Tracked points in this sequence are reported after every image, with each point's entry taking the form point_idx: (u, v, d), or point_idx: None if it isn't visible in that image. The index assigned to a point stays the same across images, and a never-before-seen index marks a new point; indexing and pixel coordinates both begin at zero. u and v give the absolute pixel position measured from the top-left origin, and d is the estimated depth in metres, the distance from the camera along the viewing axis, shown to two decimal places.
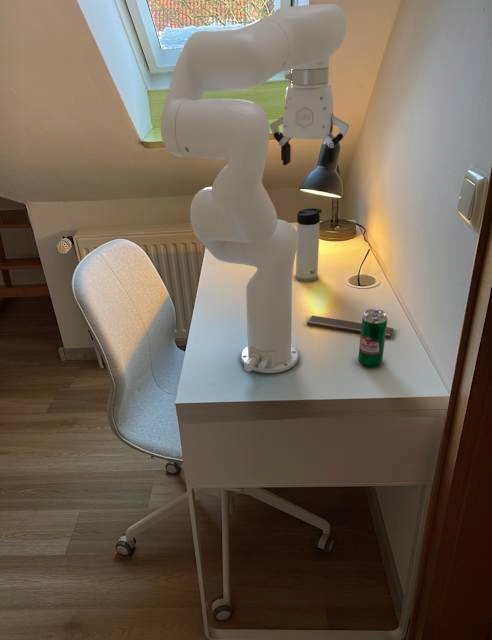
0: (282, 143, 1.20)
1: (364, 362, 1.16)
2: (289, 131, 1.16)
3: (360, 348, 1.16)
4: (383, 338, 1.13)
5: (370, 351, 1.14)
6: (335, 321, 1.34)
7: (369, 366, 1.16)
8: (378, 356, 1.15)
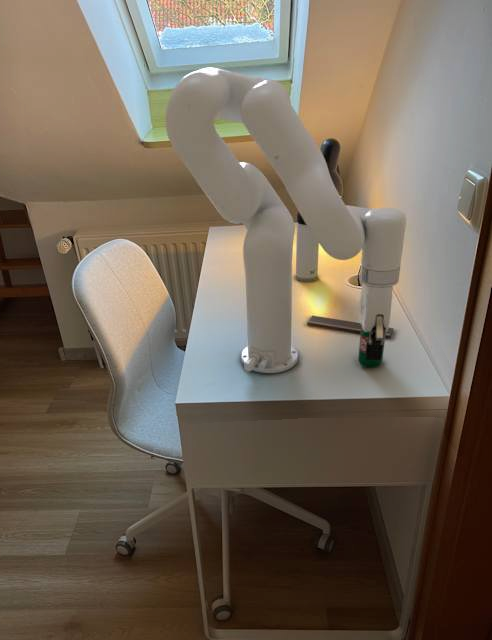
0: None
1: (364, 362, 1.16)
2: (359, 310, 1.16)
3: (360, 348, 1.16)
4: (383, 338, 1.13)
5: None
6: (335, 321, 1.34)
7: (369, 366, 1.16)
8: None
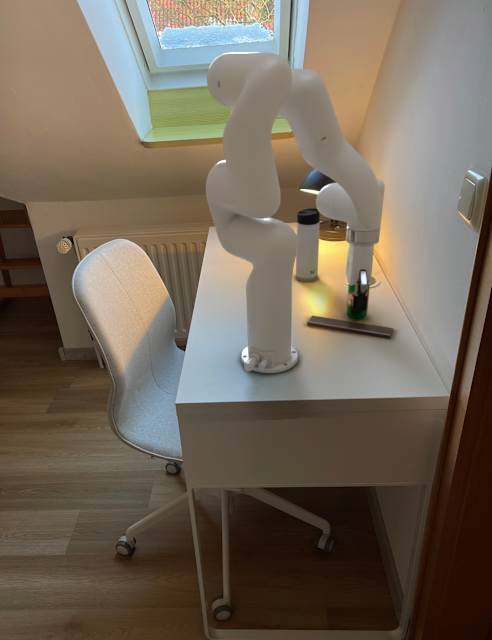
0: None
1: (351, 315, 1.35)
2: (346, 268, 1.34)
3: (348, 303, 1.35)
4: None
5: None
6: (335, 321, 1.34)
7: (355, 318, 1.35)
8: None
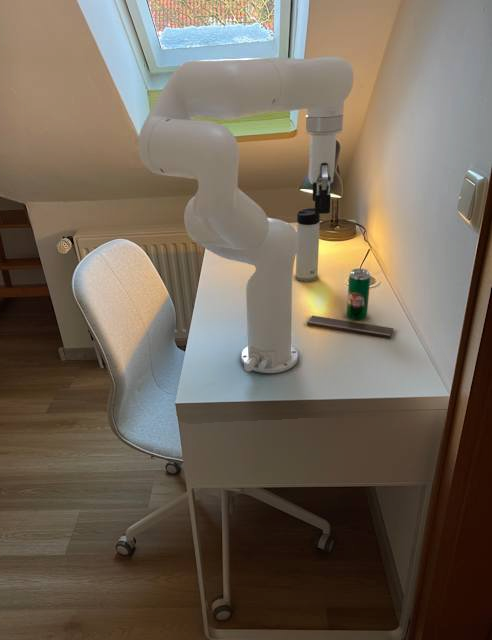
0: None
1: (351, 315, 1.35)
2: None
3: (348, 303, 1.35)
4: (367, 293, 1.32)
5: (356, 304, 1.33)
6: (335, 321, 1.34)
7: (355, 318, 1.35)
8: (363, 309, 1.34)
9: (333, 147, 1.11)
